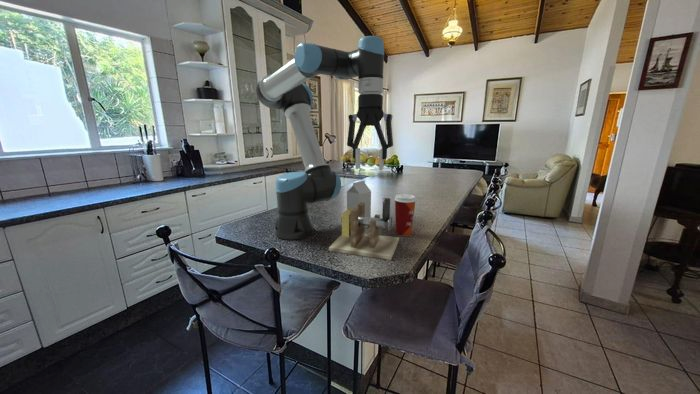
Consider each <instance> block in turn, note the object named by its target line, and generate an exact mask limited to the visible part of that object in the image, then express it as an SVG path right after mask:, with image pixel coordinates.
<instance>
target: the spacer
mask: <svg viewBox="0 0 700 394" xmlns="http://www.w3.org/2000/svg"><path fill="white" fill-rule="evenodd" d="M352 209H354V208H349V209H348V210H347V209H346V210H344V212H343V213H342V214H341V217H342V222H341V235H342V237H350V236H351V224H350V218H351V210H352Z"/></svg>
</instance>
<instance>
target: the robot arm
mask: <svg viewBox="0 0 700 394" xmlns="http://www.w3.org/2000/svg"><path fill="white" fill-rule="evenodd" d="M384 43H385V42H384V39H383V38H382V37H381V36H376V35H367V36H362V37H361V38H360V39H359V40H358V45H357V49H354V50H351V51H344V50H341V49H336V48H331V47H328V46H327V47H326V46H323V45H318V44H316V43H312V42H300V43H299V44H298V45H297V46H296V49H295V51H294V56H293V57H294V58H292V59H291V60H290V61H288V62H287V63H285V64H284V65H283V66H281V67H280V68H279V69H277V70H276V71H275V72H274V73H272V74H270V75H269V74H267V75H265V76H263V77H262V78H260V79H259V80H258V82H257V84H256V86H255V94H256V97H257V99H258V101H259V102H260V103H261V104H262V105H263V106H265V107H266V108H268V109H272V110H281V111H282V112H283V114H284V117H285V118H287V119H289V121H290V125H291V127H292V131H293V133H294V134H293V135H294V137H295V141H296V142H297V146H298V150H299V153H300V156H301V159H302V163H303V165H304V168H305V169H304V171H295V172H293V171H292V172H287V173H283V174H281V175H279V176H278V177H276V181H275V193H276V194H275V195H276V205H277V206H276V207H277V216H276V217H277V218H276V221H275V225H274V229H273V230H274V236H275V237H276V238H279V239H281V240H290V241H291V240H300V239H304V238H308V237H309V236H311V235H312V234H314V231H315V230H314V224H313V222H312V218H311V216H310V212H309V205H312V204H317V203H322V202H328V201H331V200H334V199H336V198H337V197H338V196H339V195H340V193H341V189H342V180H341V176H340V175H339V173H337V172H336V171H333V170H332V168H331V165H330V164H328V163H326V161H325V158H324V156H323V152H322V149H321V146H320V143H319V140H318V137H317V133H316V132H315V129H314V124H313V121H312V118H311V115H310V113H311V110H312V109H311V108H312V106H313V103H314V101H313V93H312V90H311V88H310V87H309V86H308V84H305V83H306V82H308V81H310V80H311V79H313V78H314V77H317V76H318V75H324V76H331V77H335V78H336V79H337V80H340V81H341V80H345V81H346V80H350V79H353V78H357V79H358V81H357V83H358V89H357V90H358V94H359V96H358V97H357V98H358V99H357V101H358V102H357V112H356V113H355V114H349V115H348V121H349V123H348V131H347V132H348V134H347V142H346V146H347V147H349V148H352V159H355V170H359V169H361V148H359V146H360V142H361V140H362V137H363V135H364V131H365V130H366V128H367V127H369V126H372V127H374V129H375V130H376V134H377V137H378V139H379V142H380V146H381V148H380V149H379V164H378V166H379V167H378V170H379V171H382V170H384V160H387V158H388V149H389V148H392V147H393V146H394V140H393V130H392V129H393V128H392V120H393V114H391V113H385V112H384V110H383V107H384V106H383V104H384V103H383V102H384V101H383V100H384V96H383V95H382V93H384V61H385V44H384ZM357 119H358V120H359V122H360V123H359V126H358V130H357V132H356V135H355V129H356V122H357ZM382 119H384V121H385V129H386V138H385V135H384V133H383V130H382V126H381V120H382ZM386 140H387V142H386Z"/></svg>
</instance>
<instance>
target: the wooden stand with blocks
mask: <svg viewBox="0 0 700 394" xmlns="http://www.w3.org/2000/svg"><path fill="white" fill-rule="evenodd" d="M359 216H363V217H365V203H363V202H361V203H359V204H358V208H354V209H352V210H351V236H350V237H342V234H341V235H339V236H338V238H337V239H336V240H335V241H333V243H332V244H330V246H329V247H328V251H329V252H335V253H342V254H349V255H354V256H362V257H367V258H368V257H369V258H375V259H382V260H388V261H392V259H393V257H394V253H395V251H396V249H397V246H398V244H399V242H400V237H398V236H397V237H395V236H390V235H389V236H388V235H380V228H381V227H376V220H371V221H370V226H369V233H366V232H365V228H364V225H358V221H359ZM373 218H381V214H375V215H374V217H373Z"/></svg>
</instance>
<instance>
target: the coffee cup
mask: <svg viewBox="0 0 700 394" xmlns="http://www.w3.org/2000/svg"><path fill="white" fill-rule="evenodd" d="M393 200H394V206H395V207H394V208H395V209H394V213H395V214H394V215H395V217H394V218H395V235H398V236H401V237H409V236H411V235H412V232H413V226H414V225H413V224H414V218H415V217H414V216H415V215H414V214H415V206H416V202H417V199H416V196H415V195H413V194H410V193H409V194H408V193H399V194H395V197H394V199H393Z"/></svg>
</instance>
